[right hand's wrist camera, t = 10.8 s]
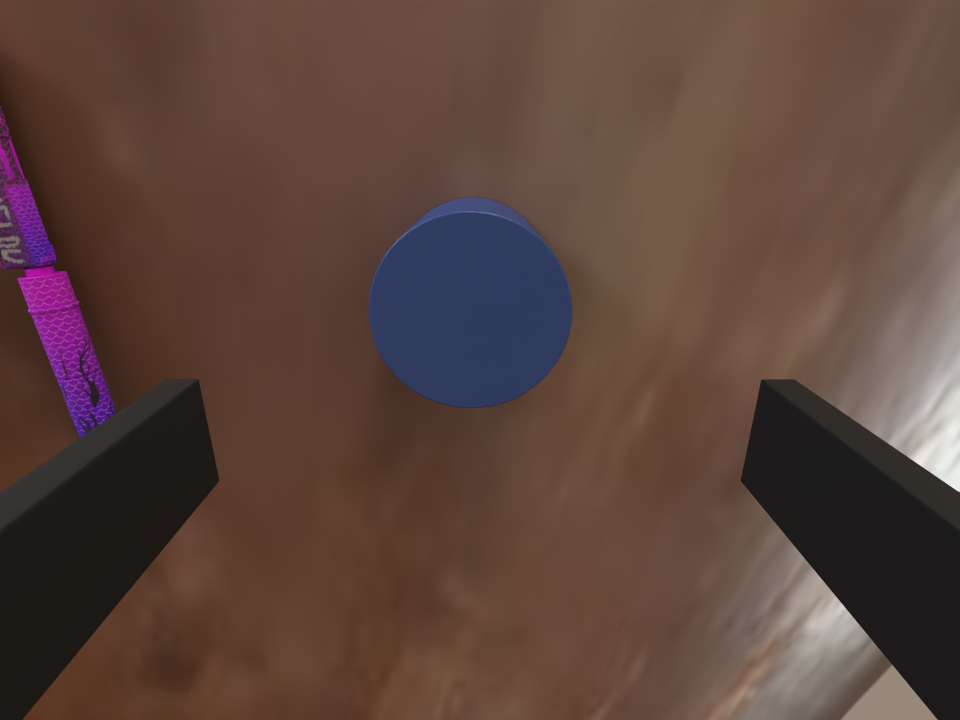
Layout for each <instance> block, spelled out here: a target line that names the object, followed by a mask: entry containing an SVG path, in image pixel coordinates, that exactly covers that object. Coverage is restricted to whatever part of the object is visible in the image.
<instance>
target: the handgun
mask: <svg viewBox="0 0 960 720" xmlns="http://www.w3.org/2000/svg"><path fill="white" fill-rule="evenodd" d="M11 138H12V136H11V134H10V131H9V128H8V125H7V123H6V120H5V117H4V114H3V111H2V109H1V106H0V269H2V268H6V269H17V268H25V269H23V270H24V273H25V275H26V276H25V277H21V278H18V281H19V284H20V287H21V289H22V292H23V294H24V297H25V299H26V302H27V305H28V307H29V309H28V312H29V313H30V314H31V315H32V317H33V320H34V322H35V325H36V328H37V330H38V333H39V335H40V338H41V340H42V343H43V346H44V348H45V351H46V353H47V356H48V358H49V361H50V363H51V366H52V369H53V371H54V374H55V376H56V378H57V381H58V384H59V387H60V389H61V392H62V394H63V397H64V399H65V402H66V404H67V407H68V410H69V412H70V415H71V417H72V420H73V422H74V425H75V427H76V430H77V432H78V435H79V438H81V437H82V436H84V435H85V434H87V433H88V432H90V431H91V430H93V429H94V428H96V427H97V426H99V425H100V424H101V423H103V422H104V421H106V420H107V419H109V418H110V417H112V416H113V415H115V414H116V413H117V412H116V409H115V406H114V403H113V400H112V398H111V395H110V392H109V389H108V386H107V383H106V381H105V378H104V375H103V372H102V369H100V364H99V361H98V358H97V355H96V352H95V350H94V347H93V344H92V341H91V338H90V336H89V333H88V330H87V327H86V324H85V322H84V319H83V316H82V313H81V310H80V307H79V304H80V303H79V301H78V300H77V299H76V296H75V293H74V291H73V288H72V285H71V282H70V279H69V276H68V274H67V272H66V271H59V272H55V270H54V267H53V265H49V264H54V263H55V262H56V259H57V258H56V254H55V251H54V248H53V245H52V244H50V242H49V239H48V237H47V234H46V231H45V228H44V225H43V223H42V220H41V217H40V214H39V212H38V209H37V206H36V203H35V200H34V198H33V195H32V192H31V189H30V187H29V184H28V181H27V179H25V177H24V174H23V172H22V169H21V166H20V163H19V161H18V158H17V155H16V152H15V149H14V147H13V144H12V141H11ZM26 267H28V268H26Z"/></svg>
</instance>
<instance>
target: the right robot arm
mask: <svg viewBox="0 0 960 720" xmlns="http://www.w3.org/2000/svg"><path fill="white" fill-rule="evenodd" d="M218 482H219V477H218V473H217V468H216V463H215V458H214V453H213V448H212V443H211V438H210V433H209V429H208V424H207V419H206V414H205V409H204V404H203V399H202V394H201V389H200V384H199V380H164V381H163V382H161V383H160V384H158V385H157V386H156V387H154V388H153V389H151V390H150V391H148V392H147V393H145V394H144V395H142V396H141V397H139V398H138V399H137V400H135V401H134V402H132V403H131V404H129V405H128V406H126V407H125V408H123V409H122V410H120V411H119V412H118V413H116V414H115V415H113V416H112V417H110V418H109V419H107V420H106V421H104V422H103V423H101V424H100V425H99V426H97V427H96V428H94V429H93V430H91V431H90V432H88V433H87V434H85V435H84V436H82V437H81V438H80V439H78V440H77V441H75V442H74V443H72V444H71V445H69V446H68V447H66V448H65V449H63V450H62V451H61V452H59V453H58V454H56V455H55V456H53V457H52V458H50V459H49V460H47V461H46V462H45V463H43V464H42V465H40V466H39V467H37V468H36V469H34V470H33V471H31V472H30V473H28V474H27V475H26V476H24V477H23V478H21V479H20V480H18V481H17V482H15V483H14V484H12V485H11V486H9V487H8V488H7V489H5V490H4V491H2V492H1V493H0V720H22V719H23V718H24V717H25V716H26V714H27V713H28V712H29V711H30V710H31V708H32V707H33V706H34V705H35V704H36V702H37V701H38V700H39V699H40V697H41V696H42V695H43V694H44V693H45V691H46V690H47V689H48V688H49V687H50V685H51V684H52V683H53V682H54V681H55V679H56V678H57V677H58V676H59V674H60V673H61V672H62V671H63V670H64V668H65V667H66V666H67V665H68V664H69V662H70V661H71V660H72V659H73V657H74V656H75V655H76V654H77V653H78V651H79V650H80V649H81V648H82V647H83V645H84V644H85V643H86V642H87V640H88V639H89V638H90V637H91V636H92V634H93V633H94V632H95V631H96V630H97V628H98V627H99V626H100V625H101V624H102V622H103V621H104V620H105V619H106V617H107V616H108V615H109V614H110V613H111V611H112V610H113V609H114V608H115V607H116V605H117V604H118V603H119V602H120V600H121V599H122V598H123V597H124V596H125V594H126V593H127V592H128V591H129V590H130V588H131V587H132V586H133V585H134V583H135V582H136V581H137V580H138V579H139V577H140V576H141V575H142V574H143V573H144V571H145V570H146V569H147V568H148V567H149V565H150V564H151V563H152V562H153V560H154V559H155V558H156V557H157V556H158V554H159V553H160V552H161V551H162V550H163V548H164V547H165V546H166V545H167V543H168V542H169V541H170V540H171V539H172V537H173V536H174V535H175V534H176V533H177V531H178V530H179V529H180V528H181V526H182V525H183V524H184V523H185V522H186V520H187V519H188V518H189V517H190V516H191V514H192V513H193V512H194V511H195V510H196V508H197V507H198V506H199V505H200V503H201V502H202V501H203V500H204V499H205V497H206V496H207V495H208V494H209V493H210V491H211V490H212V489H213V488H214V486H215V485H216V484H217V483H218ZM741 482H742V483H743V484H744V485H745V486H746V488H747V489H748V490H749V491H750V493H751V494H752V495H753V496H754V497H755V499H756V500H757V501H758V502H759V503H760V505H761V506H762V507H763V508H764V510H765V511H766V512H767V513H768V514H769V516H770V517H771V518H772V519H773V520H774V522H775V523H776V524H777V525H778V526H779V528H780V529H781V530H782V531H783V533H784V534H785V535H786V536H787V537H788V539H789V540H790V541H791V542H792V543H793V545H794V546H795V547H796V548H797V550H798V551H799V552H800V553H801V554H802V556H803V557H804V558H805V559H806V560H807V562H808V563H809V564H810V565H811V567H812V568H813V569H814V570H815V571H816V573H817V574H818V575H819V576H820V577H821V579H822V580H823V581H824V582H825V583H826V585H827V586H828V587H829V588H830V590H831V591H832V592H833V593H834V594H835V596H836V597H837V598H838V599H839V600H840V602H841V603H842V604H843V605H844V607H845V608H846V609H847V610H848V611H849V613H850V614H851V615H852V616H853V617H854V619H855V620H856V621H857V622H858V624H859V625H860V626H861V627H862V628H863V630H864V631H865V632H866V633H867V634H868V636H869V637H870V638H871V639H872V640H873V642H874V643H875V644H876V645H877V647H878V648H879V649H880V650H881V651H882V653H883V654H884V655H885V656H886V657H887V659H888V660H889V661H890V662H891V664H892V665H893V666H894V667H895V668H896V670H897V671H898V672H899V673H900V674H901V676H902V677H903V678H904V679H905V680H906V682H907V683H908V684H909V685H910V687H911V688H912V689H913V690H914V691H915V693H916V694H917V695H918V696H919V697H920V699H921V700H922V701H923V702H924V704H925V705H926V706H927V707H928V708H929V710H930V711H931V712H932V713H933V714H934V716H935V717H936V718H937V719H938V720H960V492H958V491H956V490H955V489H953V488H952V487H951V486H949V485H948V484H946V483H945V482H943V481H942V480H940V479H939V478H937V477H936V476H934V475H933V474H932V473H930V472H929V471H927V470H926V469H924V468H923V467H921V466H920V465H918V464H917V463H915V462H914V461H913V460H911V459H910V458H908V457H907V456H905V455H904V454H902V453H901V452H899V451H898V450H897V449H895V448H894V447H892V446H891V445H889V444H888V443H886V442H885V441H883V440H882V439H880V438H879V437H878V436H876V435H875V434H873V433H872V432H870V431H869V430H867V429H866V428H864V427H863V426H861V425H860V424H859V423H857V422H856V421H854V420H853V419H851V418H850V417H848V416H847V415H845V414H844V413H842V412H841V411H840V410H838V409H837V408H835V407H834V406H832V405H831V404H829V403H828V402H826V401H825V400H823V399H822V398H821V397H819V396H818V395H816V394H815V393H813V392H812V391H810V390H809V389H807V388H806V387H804V386H803V385H802V384H800V383H799V382H797V381H796V380H761V384H760V389H759V394H758V399H757V404H756V409H755V414H754V419H753V424H752V428H751V433H750V438H749V443H748V448H747V453H746V458H745V463H744V468H743V473H742V477H741Z"/></svg>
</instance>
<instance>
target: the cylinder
mask: <svg viewBox="0 0 960 720" xmlns="http://www.w3.org/2000/svg"><path fill="white" fill-rule="evenodd" d="M369 322H370V327H371V332H372V336H373V339H374V342H375V344H376V347H377V349H378V351H379V353H380V355H381V357H382V359H383V360H384V362H385V363H386V364H387V366H388V367H389V369H390V370H391V371H392V372H393V373H394V374H395V375H396V377H397V378H398V379H399V380H401V381H402V382H403V383H404V384H405V385H406V386H408V387H409V388H410V389H412V390H413V391H415V392H416V393H418V394H420V395H422V396H424V397H426V398H428V399H430V400H432V401H435V402H438V403H441V404H445V405H449V406H453V407H462V408H481V407H488V406H494V405H497V404H501V403H504V402H507V401H510V400H512V399H515V398H517V397H518V396H520V395H522V394H524V393H526V392H527V391H529V390H530V389H532V388H533V387H534V386H536V385H537V384H538V383H539V382H540V381H541V380H542V379H544V378H545V377H546V375H547V374H548V373H549V372H550V371H551V370H552V368H553V367H554V366H555V364H556V363H557V361H558V359H559V358H560V356H561V354H562V352H563V350H564V348H565V346H566V343H567V340H568V337H569V334H570V328H571V323H572V297H571V292H570V287H569V283H568V280H567V277H566V275H565V272H564V270H563V268H562V266H561V264H560V262H559V260H558V259H557V257H556V256H555V254H554V253H553V252H552V250H551V249H550V248H549V246H548V245H547V244H546V243H545V241H544V240H543V239H542V237H541V236H540V235H539V234H538V232H537V231H536V230H535V229H534V227H533V226H532V225H531V224H530V223H529V222H528V221H527V220H526V219H525V218H524V217H523V216H522V215H521V214H519V213H518V212H517V211H515V210H514V209H512V208H510V207H508V206H507V205H504V204H502V203H499V202H497V201H493V200H489V199H483V198H462V199H456V200H452V201H449V202H446V203H444V204H441V205H439V206H437V207H435V208H434V209H432V210H431V211H429V212H427V213H426V214H425V215H424V216H423V217H422V218H420V219H419V220H418V221H417V222H416V223H415V224H414V225H413V226H412V227H411V228H410V229H409V230H408V231H406V232H405V233H404V234H403V235H402V236H401V237H400V238H399V239H398V240H397V241H396V242H395V243H394V244H393V246H392V247H391V248H390V249H389V250H388V252H387V253H386V255H385V256H384V258H383V259H382V261H381V262H380V265H379V267H378V269H377V271H376V273H375V276H374V279H373V282H372V285H371V290H370V296H369Z"/></svg>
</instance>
